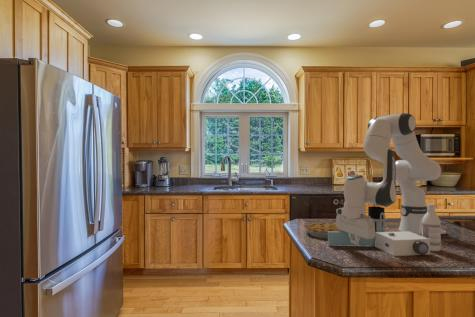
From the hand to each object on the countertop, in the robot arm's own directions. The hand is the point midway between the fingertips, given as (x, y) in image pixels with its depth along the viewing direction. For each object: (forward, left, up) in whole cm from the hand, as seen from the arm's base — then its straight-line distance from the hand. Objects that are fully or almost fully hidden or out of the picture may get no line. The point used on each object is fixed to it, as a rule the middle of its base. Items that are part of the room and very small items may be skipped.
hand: (354, 244), depth 130 cm
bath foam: (-34, +2, -3) cm, 35 cm away
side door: (-2, -7, -3) cm, 8 cm away
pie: (+1, -28, -3) cm, 28 cm away
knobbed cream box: (-20, +3, -3) cm, 21 cm away
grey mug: (-21, -17, -3) cm, 28 cm away
